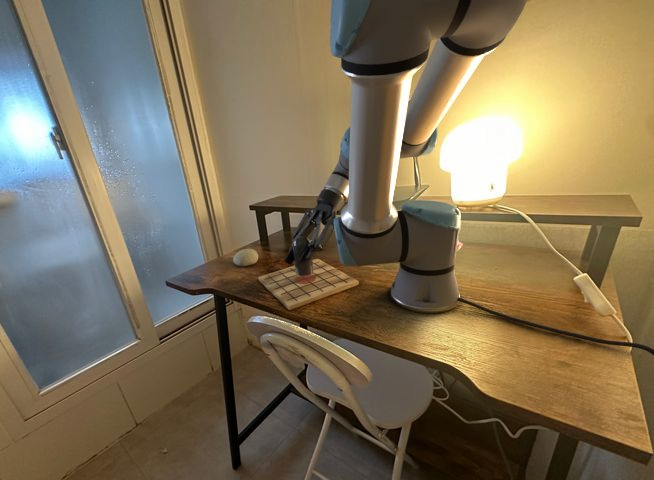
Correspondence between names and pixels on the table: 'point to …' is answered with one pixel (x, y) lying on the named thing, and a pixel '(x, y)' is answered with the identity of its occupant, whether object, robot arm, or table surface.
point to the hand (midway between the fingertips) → (292, 265)
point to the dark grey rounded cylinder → (298, 249)
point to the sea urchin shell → (245, 257)
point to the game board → (306, 284)
